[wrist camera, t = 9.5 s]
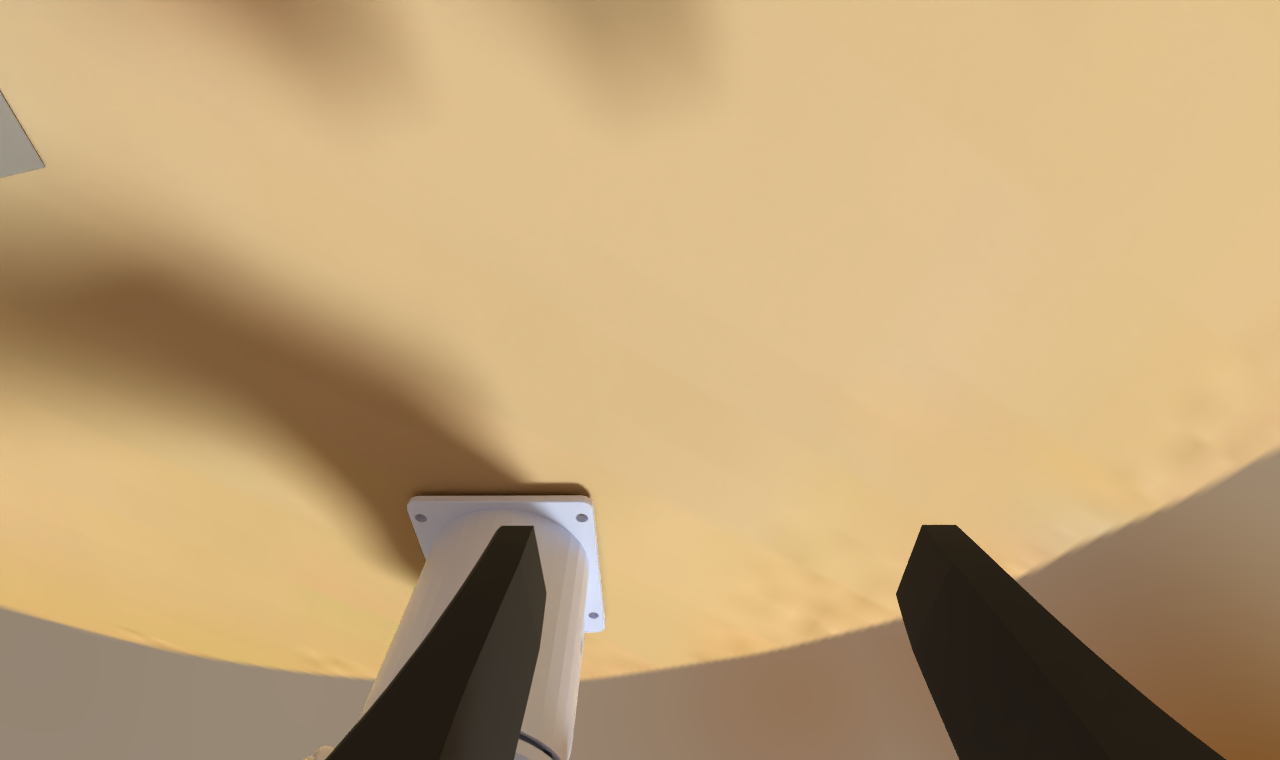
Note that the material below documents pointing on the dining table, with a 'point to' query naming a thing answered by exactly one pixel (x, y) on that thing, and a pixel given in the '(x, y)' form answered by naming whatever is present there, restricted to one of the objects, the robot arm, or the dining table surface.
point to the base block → (15, 145)
